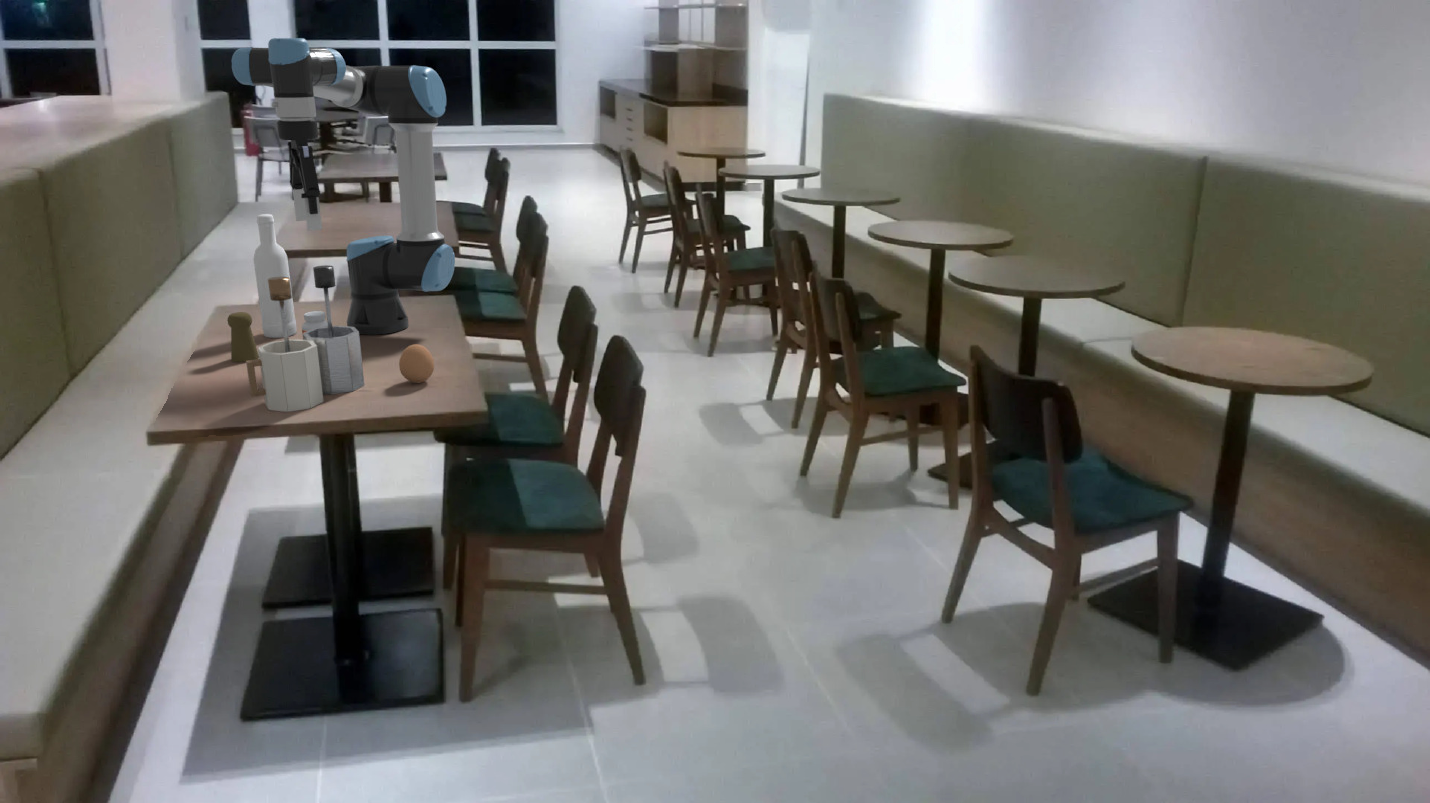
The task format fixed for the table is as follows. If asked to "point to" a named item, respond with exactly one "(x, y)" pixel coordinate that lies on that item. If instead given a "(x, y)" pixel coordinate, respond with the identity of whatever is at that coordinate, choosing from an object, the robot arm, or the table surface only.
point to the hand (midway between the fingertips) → (308, 225)
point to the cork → (242, 338)
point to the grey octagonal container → (338, 358)
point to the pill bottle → (314, 320)
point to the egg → (416, 364)
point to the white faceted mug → (287, 375)
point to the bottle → (268, 265)
